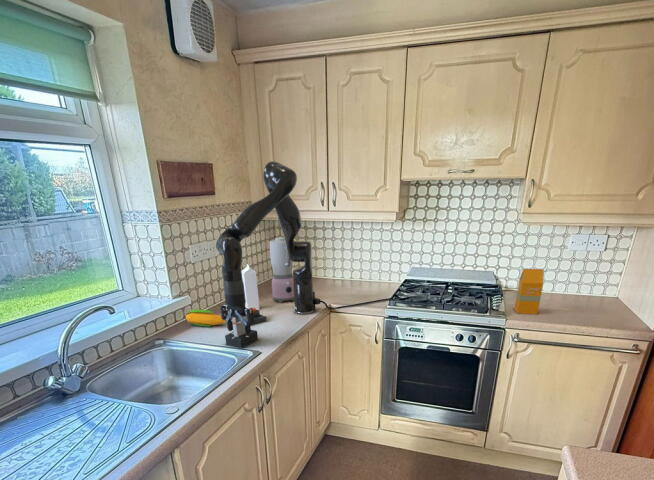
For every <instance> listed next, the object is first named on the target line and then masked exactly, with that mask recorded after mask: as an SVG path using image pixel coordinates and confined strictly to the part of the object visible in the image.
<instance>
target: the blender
mask: <svg viewBox="0 0 654 480" xmlns="http://www.w3.org/2000/svg"><path fill="white" fill-rule="evenodd" d="M269 257H270V264H271V268H272V272H273V273H272V274H273V277H272V279H271V290H272V299H273V300H274V301H278V303H280V304H283V301H291V302H294V286H293V264H294V263H293V261H291V260H290V258H289V256H288V252H287V247H286V242H285V238H284V236H283V237H280V236H279V237H275V238H274V239H271V240H270V241H269Z"/></svg>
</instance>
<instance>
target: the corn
mask: <svg viewBox="0 0 654 480" xmlns="http://www.w3.org/2000/svg"><path fill="white" fill-rule="evenodd" d="M185 319H186V322H188V323H189V324H190V325H193V326H197V327H205V328H206V327H207V328H211V327H212V326H218V325H223V324H225V323H227V322H226V321H225V320H222V316H221V315H219V314H215V313H214V311H212V310H210V309H195V308H194V309H191V310H189V311H188V312H187V313H186V314H185Z"/></svg>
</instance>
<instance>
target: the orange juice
mask: <svg viewBox="0 0 654 480" xmlns="http://www.w3.org/2000/svg"><path fill="white" fill-rule="evenodd" d="M543 287H544V269H543V268H523V269H522V272H521V274H520V277H519V280H518V286H517V291H516V297H515V303H514V308H513V309H514V310H515V312H516V314H525V315H538V312H539V306H540V302H541V297H542V291H543Z"/></svg>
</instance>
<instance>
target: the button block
mask: <svg viewBox="0 0 654 480" xmlns="http://www.w3.org/2000/svg"><path fill="white" fill-rule="evenodd" d="M260 313H261V311H260V310H256V313H253V315H254V321H255V322H254V323H252V324H250V326H253V325H254V326H255V325H258V324H262V323H265V322H267V316H265V315H263V314H260ZM243 317H245V316H243ZM234 320H235V323H237V322H239V321H241V320H240V319H239V318H234ZM246 322H247V321H246ZM244 327H245V324H244Z"/></svg>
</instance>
